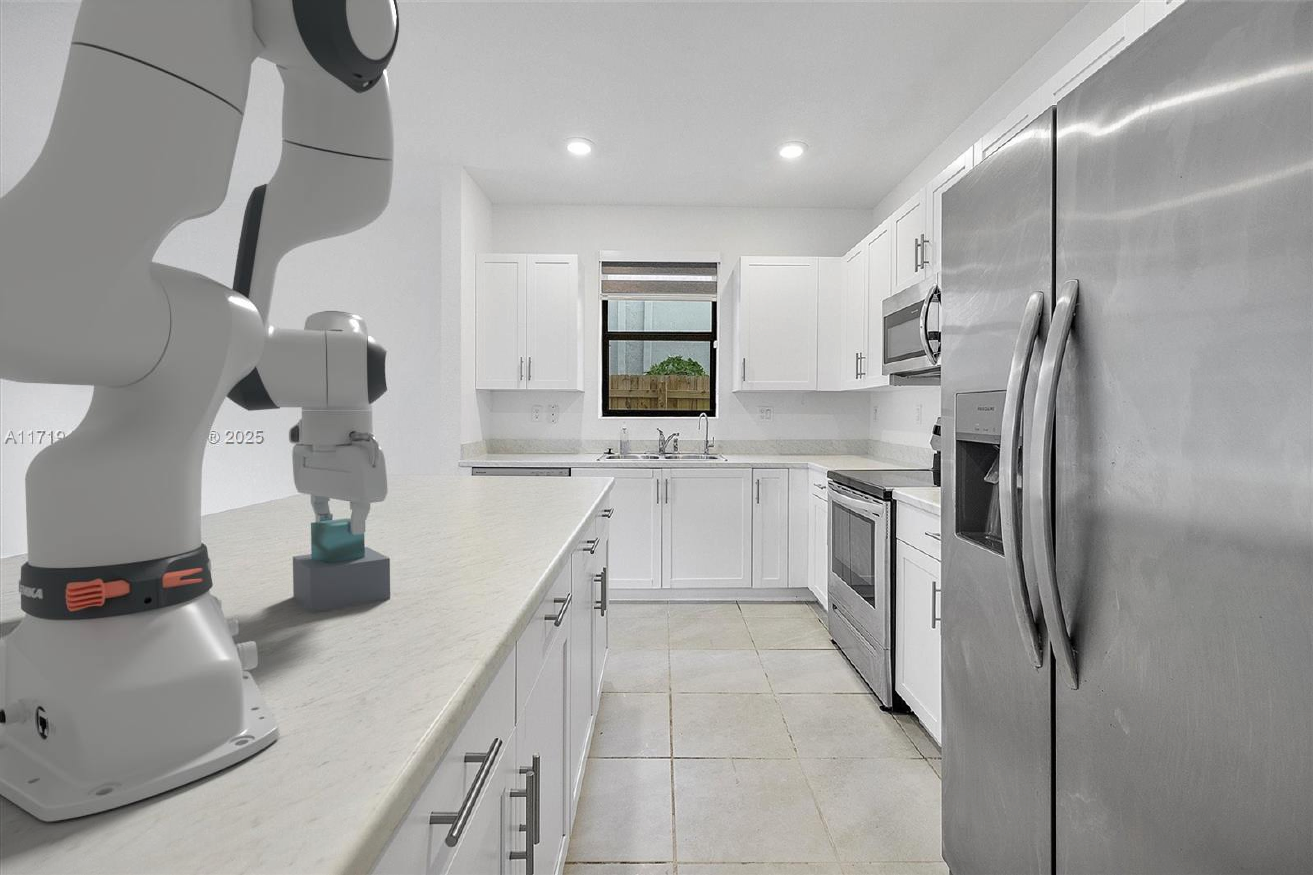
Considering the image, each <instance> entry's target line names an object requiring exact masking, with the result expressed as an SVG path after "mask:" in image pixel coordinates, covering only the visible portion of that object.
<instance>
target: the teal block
mask: <svg viewBox="0 0 1313 875" xmlns="http://www.w3.org/2000/svg"><path fill="white" fill-rule="evenodd" d="M350 519H351V518H340V519H339V518H338V519H332V520H330V521H322V522H316V521H315V522H310V546H311V547H310V548H311V549H310V550H311V551H310V552H311V553H310V554H311V557H312V559H315V560H318V561H321V562H325V563H328V564H329V563H335V562H340V561H346V560H351V559H357V558H362V557H365V547H366V546H365V533H363V534H358V535H353V534H350V533H348V531H347V529H348V527H347V521H350Z"/></svg>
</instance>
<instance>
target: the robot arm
mask: <svg viewBox="0 0 1313 875" xmlns="http://www.w3.org/2000/svg"><path fill="white" fill-rule="evenodd" d="M399 33H400V15H399V8H398V3H397V0H81V2H80V6H79V10H78V13H77V16H76V20H75V24H74V28H73V32H72V37H71V40H70V46H69V50H68V55H67V56H68V57H67V62H66V66H65V69H64V70H65V71H64V76H63V79H62V83H61V88H60V92H59V96H58V100H57V104H56V107H55V110H54V111H55V112H54V115H53V119H52V123H51V125H50V129H49V132H48V136H47V139H46V140H45V143H44V145H43V147H42V150H41V151H40V154H39V155H38V156H37V158H36V160H35V162H34V163H33V165H32V166H31V167H30V168H29V170H28V171H27V172H26V173H25V175H24V176H23V177H22V178H21V179H19V181H18V182H17V183H16V184H15V185H14V186H13V187H12V188H11V189H10V190H9V191H7V193H5V194H4V195H3V196H1V197H0V380H7V381H11V382H15V383H22V384H26V383H27V384H44V385H45V384H48V385H67V386H69V385H71V386H90V387H91V386H93V392H92V398H91V401H90V404H89V407H88V408H87V412H86V414H85V415H84V417H83V419H82V420H81V421H80V422H79V424H78V425H77V427H76V428H75V429H74V430H73V431H72V432H70V433H69V434H67V435H66V436H64V437H62V438H60V439H58V440H55V441H54V442H53V443H50V444H49V445H47V446H46V447H44V448H43V449H41V451H39V452H38V453H37V454H36V455H35V456H34V457H33V459H32V460H31V462H30V463H29V466H28V468H27V470H26V473H25V477H24V479H25V480H24V482H25V486H24V487H25V490H24V491H25V509H26V510H25V512H26V540H27V541H26V542H27V561H26V562H25V563H23V564H22V565H21V566H20V579H19V581H18V593H19V594H20V609H21V611H23V612H24V613H25V616H24V617H23V619H22V620H21V621H20V623H19V624H18V625H17V626H16V627H15V628H14V629H13V630H12V632H10V633H9V634H8V635H7V636H5V637H4V638H3V639H2V640H0V795H1V796H3V797H4V798H6V799H7V800H9V801H11V803H13V804H15V805H17V806H19V808H21V809H23V810H24V811H26V812H27V813H29V814H31V815H32V816H33V817H35V818H37V819H38V820H41V821H44V822H58V821H61V820H62V821H63V820H69V819H74V818H79V817H83V816H87V815H93V814H97V813H99V812H100V813H101V812H104V811H108V810H111V809H116V808H119V807H122V806H125V805H129V804H132V803H134V802H135V803H136V802H137V801H141V800H144V799H146V798H147V799H148V798H150V797H153V796H156V795H159V794H161V793H164V792H167V791H170V790H172V789H175V788H178V787H181V786H184V785H186V784H188V783H191V782H194V781H196V780H199V779H202V778H204V777H206V776H209V775H211V774H214V773H216V772H219V771H221V770H224V769H226V768H228V767H230V766H232V765H234V764H236V763H238V762H241V761H242V760H245V759H247V758H249V757H251V756H252V755H255V754H256V753H258V752H260V751H261V750H263V749H265V748H266V747H267V746H269V745H270V744H272V743H274V742H275V741H277V739H278V738H279V737H280V731H279V730H280V729H279V725H278V722H277V720H276V718H275V716H274V713H272V711H271V709H270V707H269V705H268V703H267V701H266V699H265V697H264V696H263V694H262V692H261V690H260V688H259V687H258V685H257V683H256V681H255V679H254V677H253V675H252V673H251V672H250V671H248V670H252V669H255V668H256V667H258V662H259V655H258V653H259V652H258V647H257V643H256V641H254V640H253V641H252V640H250V641H249V640H248V641H244V642H240V643H236V644H235V642H234V638H233V637H234V636H237V635H238V634H239V623H238V620H237V619H231V620H227V619H226V617H225V614H224V611H223V609H222V606H223V605H222V600H221V599H219V598H218V597H217V596H214V595H212V594H211V591H210V590H211V589H212V587H213V586H214V584H213V578H212V572H211V571H212V561H211V559H210V558H209V553H208V547H207V545H206V544H204V543H203V542H202V478H203V476H202V475H203V464H204V456H205V451H206V448H207V443H208V439H209V435H210V433H211V431H212V427H213V424H214V423H215V420H216V417H217V415H218V413H219V411H220V409H221V406H222V405H223V403H224V401H225V399H226V398H228V399H229V400H230V401H232V402H233V403H234V404H236V405H237V406H239V407H241V408H243V409H244V410H247V411H248V412H251V411H263V410H278V409H279V410H280V409H281V408H301V418H300V419H299V420H298V422H296V424H295V425H293V426H292V427H290V429H289V431H288V440H289V443H290V444H293V447H292V453H291V454H292V455H291V456H292V472H293V481H294V486H295V489H296V491H297V493H299V494H303V495H310V504H311V507H312V509H313V512H314V515H315V516H314V518H315V522H322V521H330V520H334V518H333V517H334V515H333V513H331V510H330V506H329V502H330V499H333V500H338V501H344V502H345V501H346V502H349V510H351V514H350V518H349V519H350V521H347V527H348V529H347V531H348V533H350V534H353V535H358V534H363V533H364V534H365V533H366V521H367V519H368V516H369V513H370V511H371V504H374V503H379V502H380V503H382V502H384V501H385V500H386V498H387V495H388V475H387V466H386V457H385V455H384V452H383V449H382V448H381V447H380V446H379V445H380V444H379V442H378V441H377V440H376V438H375V436H374V434H373V433H374V432H373V429H374V428H373V427H374V426H373V406H372V404H373V403H374V402H376V401H378V399H380V398H381V397H382V396H383V395H384V394H385V393H386V392H387V391H388V387H387V379H386V357H387V350H386V349H385V348H384V347H383V346H382V344H380V343H379V342H378V341H377V339H375V338H373V337H372V336H371V335H369V332H368V328H367V323H366V321H365V320H364V319H363V318H362V317H360V316H359V315H356V314H352V313H350V312H345V311H338V310H326V311H324V310H323V311H320V312H315V313H312V314H310V315H309V316H307V317H306V319H305V322H304V328H303V329H296V328H295V329H293V328H282V327H281V328H280V327H276V326H274V325H272V324H271V323H270V322H269V317H270V311H271V305H272V298H273V292H274V287H275V280H276V276H277V270H278V266H279V263H280V261H281V260H282V259H283V257H285V255H287V254H288V253H289V252H291V251H293V250H294V249H297V248H298V247H301V246H304V245H307V244H311V243H313V242H317V241H322V240H327V239H331V238H335V237H340V236H343V235H348V234H350V233H351V234H352V233H353V232H356V231H358V230H361V229H363V228H365V227H367V226H369V225H370V224H372V223H373V222H375V221H376V220H378V218H380V217H381V215H383V212H385V210H386V209H387V207H388V204H389V203H390V198H391V191H392V185H393V184H392V183H393V175H394V157H395V155H394V154H395V153H394V152H395V150H394V143H395V142H394V139H395V138H394V118H393V108H392V100H391V98H392V97H391V91H390V87H389V79H388V74H387V68H388V66H389V64H390V62H391V60H392V58H393V57H394V54H395V51H396V48H397V44H398V39H399V35H400V34H399ZM257 58H259V59H263V60H266V61H268V62H269V63H272V64H275V66H276V69H277V71H278V73H279V75H280V78H281V81H282V83H283V96H282V109H281V110H282V111H281V112H282V114H281V138H282V139H281V144H282V145H281V155H280V160H279V163H278V165H277V168H276V171H275V172H274V173H273V176H272V177H271V179H270V180H269V182H268V183H264V184H261V185H259V186H255V187H254V188H253V190H252V191H251V193H250V195H249V197H248V200H247V202H246V207H245V209H244V214H243V215H244V216H243V219H242V224H241V230H240V231H241V232H240V237H239V243H238V250H237V254H236V260H235V261H236V262H235V268H234V276H233V280H232V288H231V287H229V286H227V285H224V284H223V283H221V282H218V281H216V280H214V279H212V278H210V277H208V276H207V275H204V274H202V273H199V272H196V271H191V270H189V269H184V268H179V267H175V266H172V265H167V264H164V263H159V262H155V261H153V258H154V256H155V254H156V252H157V250H158V249H159V247H160V246H161V244H162V242H163V241H164V240H165V239H166V237H167V236H168V235H169V234H170V233H171V232H172V231H173V230H175V229H176V228H177V227H178V226H180V225H181V224H182V223H184V222H186V221H189V220H190V221H191V220H195V219H199V218H200V219H201V218H203V217H206V216H208V215H210V214H212V213H214V212H216V211H217V210H218V209H219V208H220V207H221V205H223V203H224V202H225V199H226V197H227V194H228V189H229V184H230V180H231V175H232V171H233V167H234V166H233V165H234V162H235V157H236V153H237V148H238V143H239V139H240V134H241V130H242V126H243V121H244V117H245V112H246V111H245V110H246V106H247V102H248V101H247V100H248V94H249V88H250V87H249V86H250V83H251V82H250V81H251V73H252V71H251V70H252V64H253V63H254V62H255V60H256V59H257Z"/></svg>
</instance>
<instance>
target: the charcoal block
mask: <svg viewBox="0 0 1313 875" xmlns="http://www.w3.org/2000/svg"><path fill="white" fill-rule="evenodd" d="M292 583H293V584H292V585H293V586H292V588H293V590H292V591H293V598H294V599H295V600H296V601H297V602H298V603H299V604H300V605H302V606H303V608H305V609H306V610H307V611H308V612H309V613H310V614H315V613H321V612H327V611H332V610H333V611H334V610H337V609H342V608H349V607H353V606H361V605H365V604H371V603H376V602H381V601H386V600H390V599H391V558H390V557H389V556H386V555H384V554H382V553H380V552H378V551H377V550H374V549H373V548H371V547H369V546H365V557H362V558H357V559H351V560H346V561H340V562H335V563H329V564H328V563H325V562H321V561H318V560H315V559H312V557H311V553H310V554H303V555H295V556H292Z"/></svg>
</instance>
